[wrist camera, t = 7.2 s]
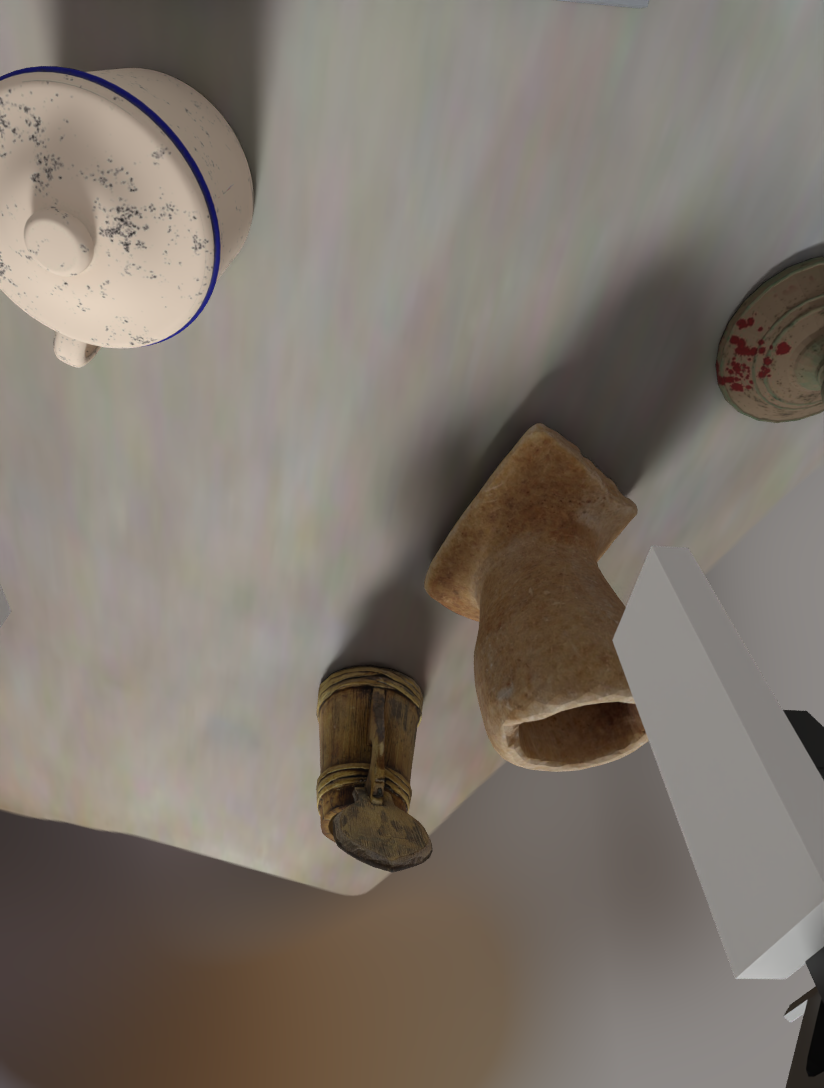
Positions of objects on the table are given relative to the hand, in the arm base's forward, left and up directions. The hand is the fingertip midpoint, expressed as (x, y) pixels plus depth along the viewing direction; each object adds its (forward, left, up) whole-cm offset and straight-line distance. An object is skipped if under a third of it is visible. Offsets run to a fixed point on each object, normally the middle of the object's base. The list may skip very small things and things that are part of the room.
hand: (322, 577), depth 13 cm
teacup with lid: (-10, +1, -24) cm, 26 cm away
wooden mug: (+2, -33, -24) cm, 41 cm away
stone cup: (+12, -17, -24) cm, 31 cm away
